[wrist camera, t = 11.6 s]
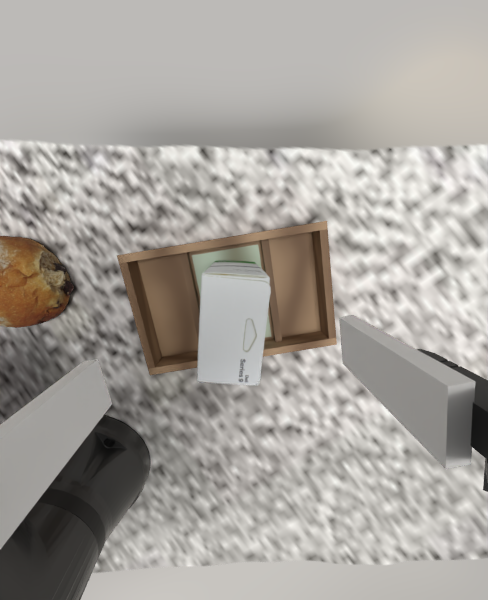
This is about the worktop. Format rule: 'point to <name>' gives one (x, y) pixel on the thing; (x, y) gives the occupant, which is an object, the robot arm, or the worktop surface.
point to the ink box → (232, 323)
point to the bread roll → (30, 283)
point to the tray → (187, 290)
